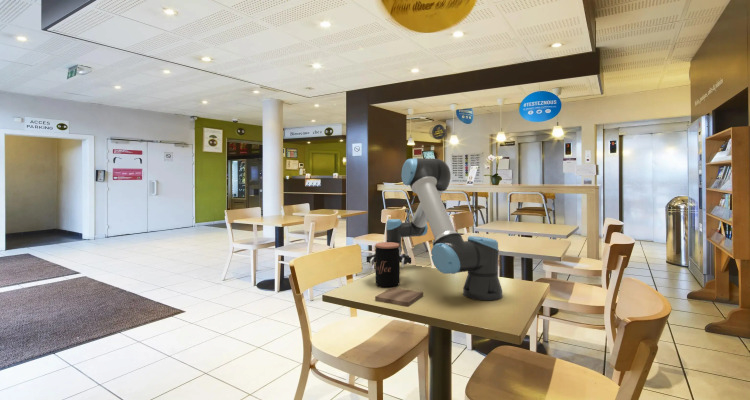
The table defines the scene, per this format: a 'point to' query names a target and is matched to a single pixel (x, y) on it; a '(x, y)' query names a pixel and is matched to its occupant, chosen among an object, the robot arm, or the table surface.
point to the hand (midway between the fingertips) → (386, 264)
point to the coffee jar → (387, 264)
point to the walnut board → (399, 296)
